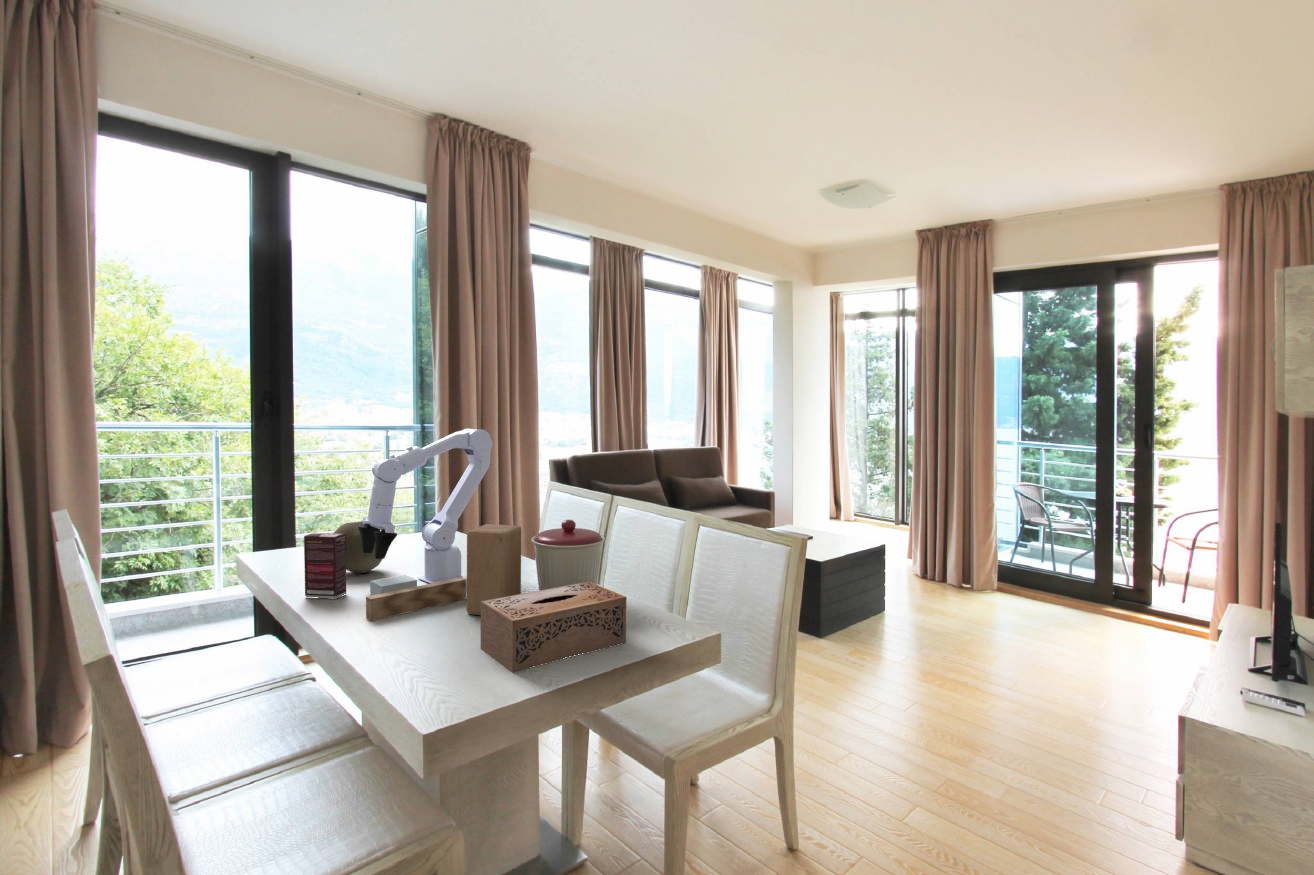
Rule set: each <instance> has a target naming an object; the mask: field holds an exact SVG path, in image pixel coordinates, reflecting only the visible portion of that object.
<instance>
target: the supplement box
mask: <svg viewBox="0 0 1314 875" xmlns="http://www.w3.org/2000/svg"><path fill="white" fill-rule="evenodd" d="M303 550H304V552H303V553H304V554H303V557H304V562H303V563H304V597H305V596H306V597H318V598H331V599H330V600H338V599H340V598H342V597H343V596H342V595H344V594H346V595H347V570H346V534H338V533H334V532H333V533H332V532H331V533H330V532H312V533H309V534H306V535H303ZM341 596H342V597H341ZM344 596H345V595H344ZM339 597H340V598H339ZM332 598H333V599H332ZM337 598H338V599H337Z"/></svg>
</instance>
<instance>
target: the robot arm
mask: <svg viewBox="0 0 1314 875" xmlns="http://www.w3.org/2000/svg"><path fill="white" fill-rule="evenodd" d="M493 445H494V443H493V441H492V437H491V435H490V434H489V432H488V431H487V430H485V429H476V428H475V429H474V428H472V427H471V428H469V427H467V428H464V429H462V430H458V431H455V432H452V433H451V434H449V435H446V436H444V437H442V438H440V439H439V440H437V441H433V442H432V443H430V444H428V445H426V446H423V447H419V446H412V445H409V446H407V447H406V450H404V451H401V452H399V453H397V454H393V453H392V454H390V455H389V459H388V458H382V459H379V460H378V461H376V463H375V464H374V466H373V467H372V468H371V471H372V472H371V473H372V475H373V476H374V478H373V485H372V487H371V489H372V490H371V494H370V495H371V496H370V500H369V506H368V514H367V516H363V519H362V521H363V524H365V525H364V526H358V529H359V531H360V534H361V539H362V549H363V553H372V551H373V548H374V544H376V547H375V558H376V559H382V560H384V559H386V555H387V553H388V551H389V548H390V546H391V545H392V543H393V541H394V540H395V539H396V538H397V536H398V533H397V532H395V530H396V529H395V528H396V525H394V524H393V522H392V515H393V508H394V502H395V496H396V490H397V488H396V487H397V483H398V482H397V481H399V479H401V476H402V475H403V476H404V475H407V474H408V473H410V472H413V471H415V470H417V469H419V468H421V467H423V466H425V465H426V464H427V462H428V459H431V458H433V457H436V456H438V455H440V454H443V453H445V452H447V451H451V450H452V449H462V450H463V451H464V453H465V455H466V457H467V461H468V466H467V467H466V469H465V471H464V472H463V474H462V476H461V477H460V479H459V481H458V482H457V484H456V486H455V487H454V489H453V490H452V492H451V494H450V495H449V497H448V499H447V501H446V502H445V504H444V505H443V507H442V509H441V510H440V511H439V512H438V513H437V514H436V515H434V516H433V518H432V520H430V522H428V523H427V524H425V526H423V528H422V531H421V537H422V539H423V541H424V542H425V545H424V575H422V576H419V577H418V578H417V580H421V581H423V582H425V583H427V584H431V583H436V582H441V581H446V580H451V579H456V578H463V577H464V576H462V553H461V550H460V548H459V546H456V545H453V544H454V542H455V538H456V532H457V530H459V529H458V528H459V519H460V517H461V515H462V514H463V512H464V510H465V508H466V507H467V505H468V503H469V502H470V500H471V499H472V497H473V496H474V493H475V492H476V490H477V489H478V487H479V485H480V483H481V481H482V480H483V478H484V476H485V475H486V473H487V472H488V470H489V468H490V464H491V454H492V452H491V450H492V448H493Z"/></svg>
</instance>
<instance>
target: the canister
mask: <svg viewBox="0 0 1314 875" xmlns="http://www.w3.org/2000/svg"><path fill="white" fill-rule="evenodd" d="M576 525H577V524H576V522H575V521H574V520H573V519H565V520H563V521H562V522H561V524H560V526H561V528H551V529H547V530H543V531H540V532H538V533H537V534H536V535H534V536H533V537H531V539H530V540H531V542H532V544H533V546H534V556H535V557H534V558H535V566H536V574H537V576H536V577H537V582H538V583H537V585H538V591H540V590H546V589H551V588H557V587H562V586H568V585H573V584H578V583H584V582H592V583H594V584H597V585H598V581H599V580H598V579H599V572H600V563H601V556H602V548H603V547H602V546H603V544H604V543H605V540H606V538H605V536H603V535H601V534H600V533H599V532H597V531H595V530H592V529H586V528H579V527H578V528H577V526H576Z"/></svg>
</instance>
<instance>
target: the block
mask: <svg viewBox="0 0 1314 875" xmlns="http://www.w3.org/2000/svg"><path fill="white" fill-rule="evenodd" d="M369 585H370V586H369V589H370V590H369V591H370V593H369V594H370V595H369V596H373V595H378V594H382V593H387V592H392V591H397V590H402V589H407V588H412V587H417V586H418V579H416V578H414V577H411V576H410V575H407V574H401V575H395V576H389V577H384V578H379V579H373V580H370V581H369Z"/></svg>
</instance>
